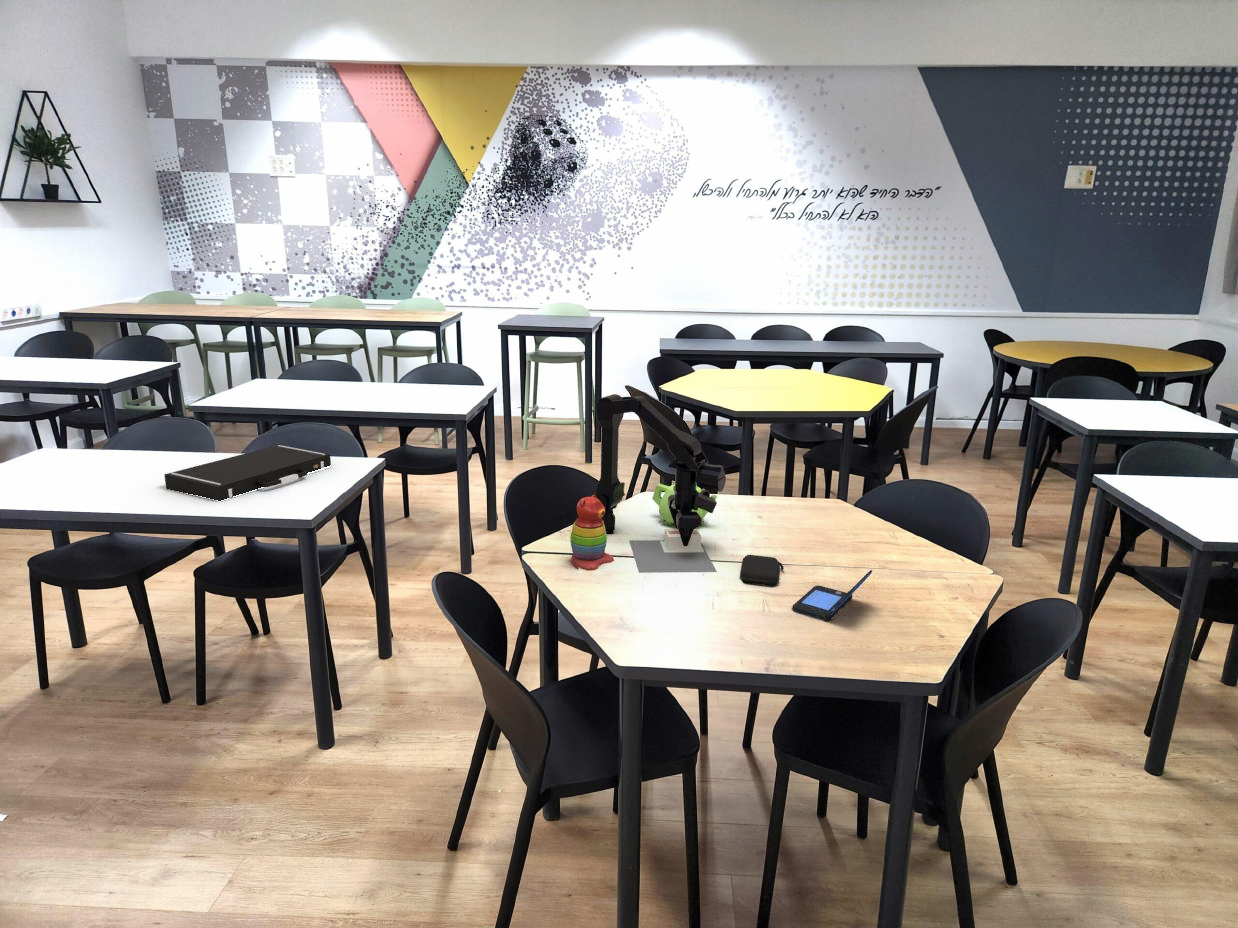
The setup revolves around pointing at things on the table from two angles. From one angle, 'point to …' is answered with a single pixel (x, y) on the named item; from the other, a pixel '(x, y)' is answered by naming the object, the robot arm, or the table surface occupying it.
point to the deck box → (675, 542)
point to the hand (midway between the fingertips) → (682, 539)
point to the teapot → (663, 502)
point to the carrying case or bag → (760, 570)
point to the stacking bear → (589, 535)
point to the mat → (668, 558)
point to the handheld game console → (825, 601)
